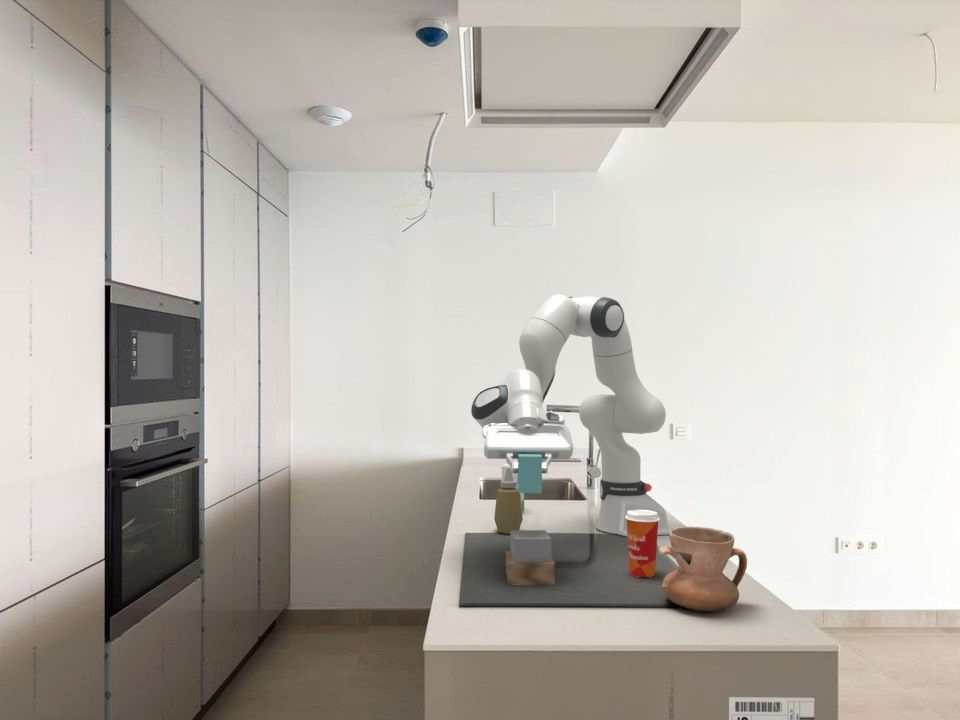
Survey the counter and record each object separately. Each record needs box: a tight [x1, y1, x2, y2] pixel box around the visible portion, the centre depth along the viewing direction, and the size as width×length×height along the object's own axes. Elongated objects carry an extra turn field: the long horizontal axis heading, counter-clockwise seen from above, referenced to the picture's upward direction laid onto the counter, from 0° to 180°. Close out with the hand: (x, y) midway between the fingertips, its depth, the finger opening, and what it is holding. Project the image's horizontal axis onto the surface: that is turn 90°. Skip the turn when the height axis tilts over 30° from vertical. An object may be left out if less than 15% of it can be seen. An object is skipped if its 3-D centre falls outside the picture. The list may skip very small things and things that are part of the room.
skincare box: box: [501, 463, 525, 514], centre depth 222 cm, size 8×7×16 cm
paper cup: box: [625, 510, 660, 578], centre depth 156 cm, size 8×8×14 cm
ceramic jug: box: [658, 525, 748, 612], centre depth 136 cm, size 18×14×14 cm
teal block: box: [517, 454, 543, 494], centre depth 153 cm, size 5×5×8 cm
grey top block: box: [509, 529, 552, 563], centre depth 152 cm, size 8×8×5 cm
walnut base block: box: [505, 550, 556, 586], centre depth 152 cm, size 10×10×5 cm
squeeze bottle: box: [494, 468, 523, 535], centre depth 196 cm, size 8×8×18 cm
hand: (529, 471), depth 152 cm, fingers closed on teal block, 5 cm apart
